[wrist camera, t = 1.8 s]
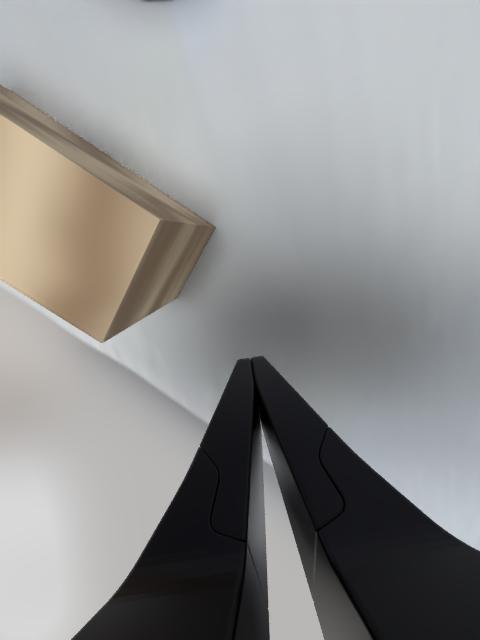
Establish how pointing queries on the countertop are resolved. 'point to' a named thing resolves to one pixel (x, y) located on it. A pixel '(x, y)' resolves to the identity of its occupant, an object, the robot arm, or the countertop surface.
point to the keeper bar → (86, 227)
